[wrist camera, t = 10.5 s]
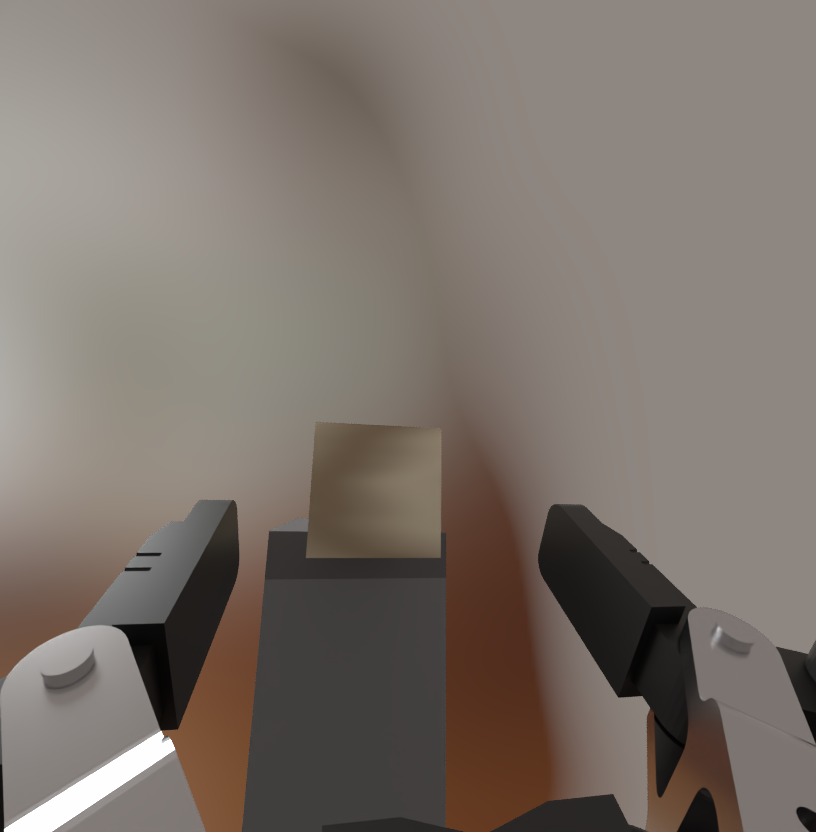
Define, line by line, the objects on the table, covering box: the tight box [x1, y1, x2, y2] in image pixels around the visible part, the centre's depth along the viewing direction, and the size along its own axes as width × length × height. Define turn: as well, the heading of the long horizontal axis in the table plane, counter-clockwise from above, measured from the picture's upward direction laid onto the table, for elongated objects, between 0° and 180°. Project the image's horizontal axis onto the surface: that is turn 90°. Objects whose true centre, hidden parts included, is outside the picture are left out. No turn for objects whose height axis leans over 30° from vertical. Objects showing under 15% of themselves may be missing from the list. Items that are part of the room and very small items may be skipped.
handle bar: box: [306, 422, 441, 558], centre depth 20 cm, size 5×18×4 cm, turn 9°
